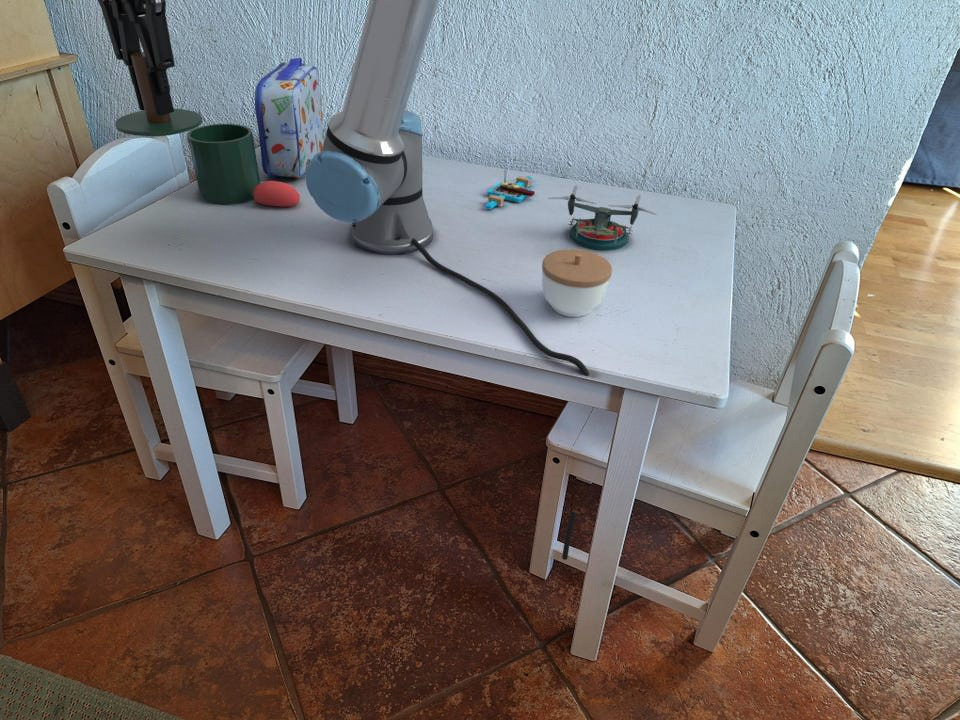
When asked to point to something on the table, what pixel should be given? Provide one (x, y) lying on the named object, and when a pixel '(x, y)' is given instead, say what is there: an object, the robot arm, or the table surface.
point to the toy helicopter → (600, 224)
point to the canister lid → (154, 110)
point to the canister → (224, 162)
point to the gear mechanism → (509, 191)
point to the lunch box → (289, 118)
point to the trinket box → (575, 281)
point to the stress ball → (276, 194)
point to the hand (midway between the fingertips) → (157, 110)
